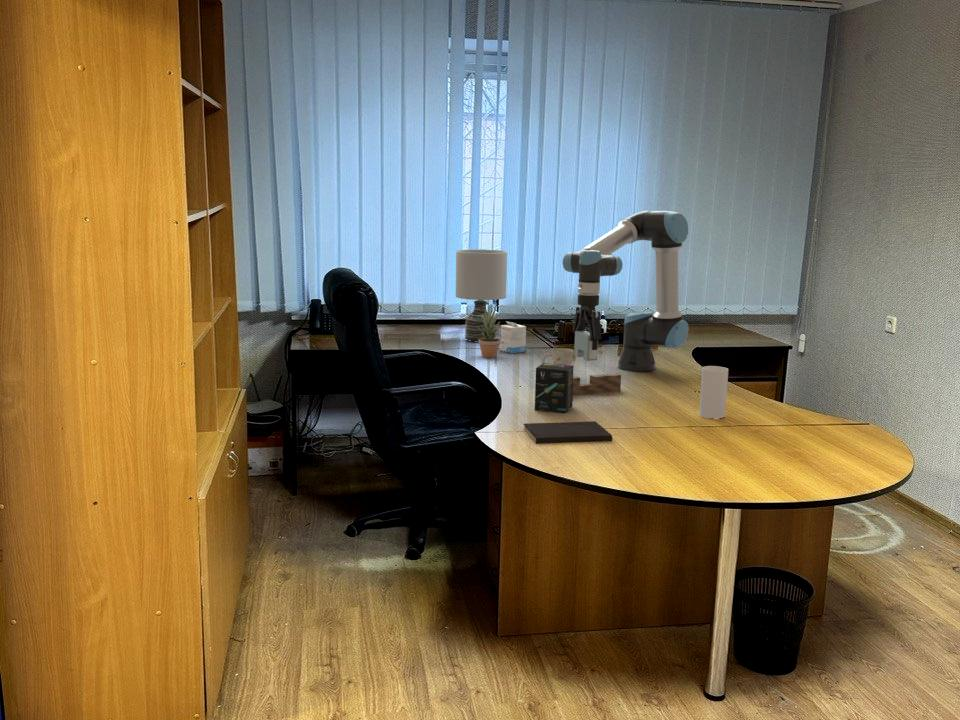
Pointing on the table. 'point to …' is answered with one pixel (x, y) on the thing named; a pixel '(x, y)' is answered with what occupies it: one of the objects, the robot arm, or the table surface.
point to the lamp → (480, 284)
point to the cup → (713, 392)
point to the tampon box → (554, 388)
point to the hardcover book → (567, 432)
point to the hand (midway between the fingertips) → (585, 355)
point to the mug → (560, 356)
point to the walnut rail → (598, 384)
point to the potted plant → (489, 335)
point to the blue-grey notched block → (582, 345)
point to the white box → (513, 338)
